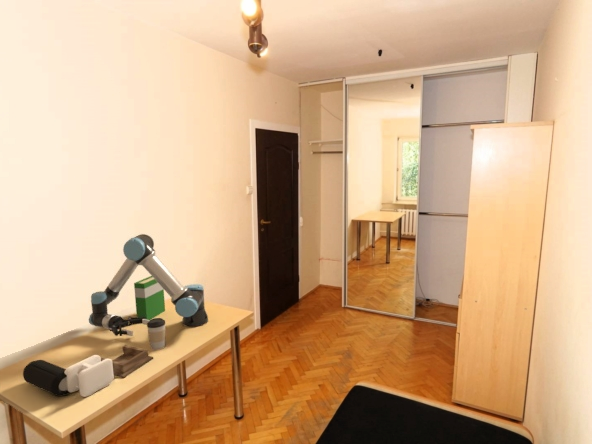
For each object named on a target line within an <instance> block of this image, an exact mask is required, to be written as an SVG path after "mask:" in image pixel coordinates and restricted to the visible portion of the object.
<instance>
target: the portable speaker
mask: <svg viewBox="0 0 592 444" xmlns="http://www.w3.org/2000/svg"><path fill="white" fill-rule="evenodd" d="M66 369H67V368H64V367H61V366H59V365H56V364H54V363H51V362H48V361H46V360H43V359H36V360H32V361H30V362H29V363H28V364H26V365H25V367H24V368H23V371H22V375H23V379H24V381H25V383H26V382H27V384H29V385H33V386H35V387H36V388H39V389H41V390H44V391H45V392H47V393H50V394H52V395H54V396H57V397H59V396H60V397H61V396H62V397H63V396H67V395H68V394H71V392H69V391H67V388H66V379H65V377H67V375H66V374H65V373H64V372H65V370H66Z"/></svg>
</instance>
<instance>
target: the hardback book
mask: <svg viewBox="0 0 592 444" xmlns="http://www.w3.org/2000/svg"><path fill="white" fill-rule="evenodd" d="M133 287H134V297H135V298H134V299H135V309H136V310H135V312H136V317H146V320H151V319H154V318H157V317H158V316H159V315H160V314H162V313H164V312H165V311H166V306H165V305H166V304H165V290H164V289H163V288H162V287H161V285H160V284H159V283H158V282H157V281H156V280H155V279H154V278H153V277H152V275H150V276H147V277H145V278H143V279H141V280H138V281H136V282H134V283H133Z"/></svg>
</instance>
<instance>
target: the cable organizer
mask: <svg viewBox="0 0 592 444" xmlns="http://www.w3.org/2000/svg"><path fill="white" fill-rule="evenodd" d="M101 358H102V357H101V356H100V355H98V354H93V355H90V356H89V357H87V358H85V359H83V360H81V361H78V362H76V363H74V364H72V365H70V366H68V367H66V368H65V369H66V370H65V372H64V373H65V374H66V375H67V377H65V379H66V388H67V391H69V392H70V393H74V392H77V391H79V395H80V396H81V397H84V398H85V397H90V396H92V395H93V394H95V393H96V392H97V391H100V390H102V389H104V388H105V387H107V386H109V385H110V384H111V383H113V382H114V377H115V376H114V374H113V364H112V360H113V359H110V358H105V360H103V361H101Z"/></svg>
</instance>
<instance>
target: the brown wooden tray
mask: <svg viewBox="0 0 592 444" xmlns="http://www.w3.org/2000/svg"><path fill="white" fill-rule="evenodd" d="M122 351H123V353H122V354H120V355H118V356H117V357H115V358H113V359H111V360H112V364H113V374H114V377H118V378H122V379H125V378H126V377H127V376H130V375H131V374H132V373H134V372H136V371H137V370H138V369H140V368H142V367H144V365H146V364H147V363H149V362H151V361H152V360H154V356H152V355H151V356H150V355H149V350H148V349H144V348H141V347H136V346H131V345H126V344H125V345H123V346H122ZM105 359H106V358H105V357H101V361H103V360H105Z"/></svg>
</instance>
